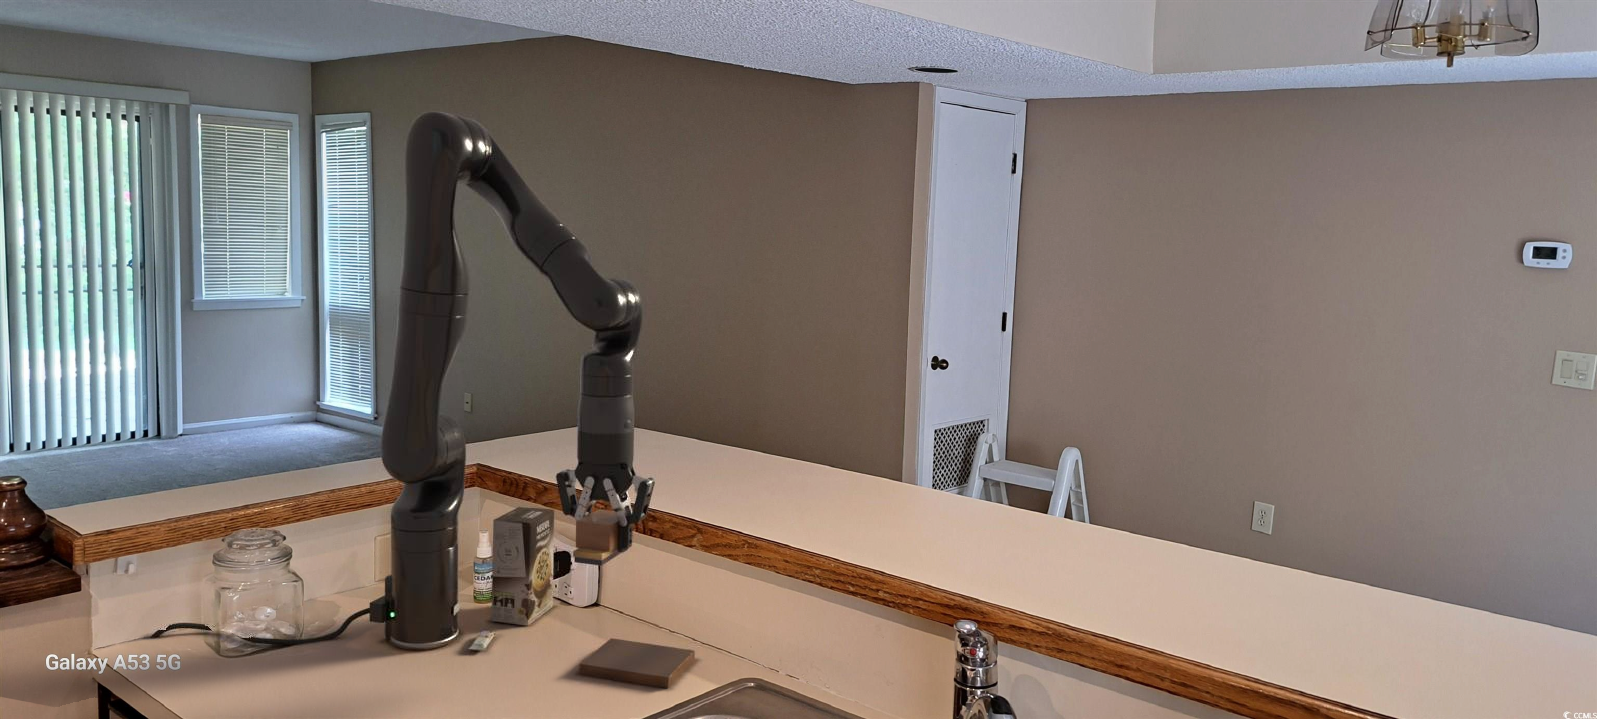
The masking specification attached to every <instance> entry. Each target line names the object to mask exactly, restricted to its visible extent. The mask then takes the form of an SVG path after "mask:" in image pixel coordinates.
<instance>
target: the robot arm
mask: <svg viewBox="0 0 1597 719" xmlns="http://www.w3.org/2000/svg"><path fill="white" fill-rule="evenodd" d="M458 184H461V185H463V186H465V187H467V188H468V189H470V190H471V191H473V192H474V193H475V194H476V195H478V196H479V197H480V198H482V199H483V200H484V201H485V202H486V203H487V204H488V205H489V206H490V208H492V209H493V210H494V211H495V213H496V214H497V216H498V218H499V220H500V221H501V223H502V225H503V227H504V229H505V231H506V234H507V235H508V238H509V239H510V241H511V242H512V244H513V246H514V247H515V249H517V251H518V253H519V254H521V256H522V257H523V258H524V259H525V260H526V261H527V262H528V263H529V264H530V265H531V266H532V267H533V268H534V269H535V270H536V271H537V273H539V274H540V275H541V276H542V277H543V278H544V279H545V280H546V281H547V282H549V284H550V285H551V288H552V289H553V291H554V293H555V295H556V296H557V298H558V300H559V301H560V303H561V304H562V306H563V307H564V309H565V310H566V312H567V314H568V315H569V316H570V317H571V318H572V319H573V320H574V321H575V322H576V323H578V324H579V325H580V327H582V328H584V329H586V330H588V331H590V332H594V336H593V341H592V345H591V347H590V348H589V349H587V350H586V351H584V353H583V354H582V356H581V360H580V368H579V370H580V371H579V372H580V373H579V400H578V404H577V405H578V407H577V418H576V424H577V437H576V438H577V445H576V447H577V448H576V449H577V450H576V458H577V465H576V467H575V469H570V468H567V469H564V470H562V471H560V472H557V473H556V475H555V480H556V485H557V489H558V494H559V499H560V505H561V509H562V510H561V511H562V513H563V515H565V516H570V517H572V518H574V520H575V522H576V521H578V520H580V519H582V518H584V517H586V516H588V515H589V514H591V513H593V512H592V511H593V509H594V507H595V504H596V503H597V502H598V501H603V502H606V503H610V505H611V510H612V511H615V512H616V516H617V519H618V522H619V524H620V525H619V526H618V547H617V551H618V552H621V554H624V553H625V552H627V551H628V550H629V549H630V548H631V547H632V546H633V541H632V537H633V538H634V533H633V530H634V529H633V528H634V524H638V523H640V522H641V521H643V520H644V519H646V518H647V516H648V512H649V508H650V504H651V499H652V496H653V491H654V487H655V484H656V480H655V479H654V478H653V477H648V478H645V477H642V476H639V475H637V474H636V472H635V469H634V466H633V465H634V456H635V455H634V451H635V446H634V445H635V404H634V360H635V356H636V353H637V349H638V344H639V340H640V336H641V332H642V326H643V321H644V320H643V319H644V303H643V298H642V295H641V292H640V290H639V288H638V287H637V285H635V283H633V282H632V281H631V280H629V279H626V278H623V277H606V278H605V277H604V276H602V275H601V274H600V273H599V271H597V270H596V269H595V267H594V266H593V265H592V261H593V255H592V253H591V251H590V249H589V247H588V246H587V245H586V244H585V243H584V242H583V241H582V240H581V239H580V237H578V235H576V234H575V233H574V232H573V231H572V230H571V229H570V228H569V227H568V226H567V225H566V224H565V223H564V222H563V221H562V220H561V219H560V217H558V215H556V214H555V213H554V212H553V211H552V210H551V209H550V208H549V207H548V206H547V205H546V204H545V202H543V201H542V199H540V197H539V196H538V195H537V194H536V193H535V192H534V190H533V189H532V188H531V187H530V185H528V183H527V182H526V180H525V179H524V178H523V177H522V176H521V173H519V172H518V170H517V169H516V167H515V166H514V165H513V164H512V162H511V161H510V160H509V158H508V156H507V155H506V154H505V153H504V151H503V149H502V148H501V147H500V145H499V144H498V142H497V141H496V140H495V138H494V137H493V136H492V134H490V132H489V131H488V129H487V128H486V127H485V126H484V125H482V123H480V122H479V121H476V120H475V119H472V118H470V117H466V116H463V115H457V114H452V113H448V112H443V111H439V110H428V111H426V112H423V113H421V114H419V115H418V116H416V118H415V119H414V120H413V121H412V123H411V125H410V126H409V128H408V131H407V134H406V138H405V144H404V192H405V194H404V195H405V196H404V198H405V200H404V201H405V204H404V205H405V214H404V215H405V216H404V230H403V231H404V232H403V245H402V246H403V249H402V264H401V265H402V266H401V272H400V280H399V290H398V301H397V316H396V318H397V319H396V323H397V324H396V333H395V334H396V335H395V343H394V352H393V363H392V364H393V366H392V375H391V384H390V390H389V395H388V400H387V404H386V410H385V414H384V419H383V424H382V429H381V434H380V435H381V436H380V445H379V452H380V458H381V462H382V465H383V468H384V469H385V471H386V472H387V474H388V475H389V476H390V477H391V478H392V479H394V480H395V481H397V482H398V483H402V484H403V487H402V490H401V492H400V494H399V495H398V497H397V498H396V500H395V501H394V503H393V504H392V506H391V508H390V574H387V576H385V578H384V595H382V596H381V597H378V598H376V599H374V600H372V601H370V602H369V607H367V608H364V609H361V610H359V611H357V612H355V613H353V614H351V615H350V616H348V617H347V618H346V619H345V621H344V622H343V623H342V624H341V626H340V627H339V628H338V629H336V630H335V631H333V632H330V633H328V634H327V633H326V634H325V635H321V636H317V637H312V638H302V639H300V638H299V639H290V638H289V639H288V638H287V639H286V638H271V637H270V638H269V637H256V636H253V637H251V638H250V637H249V638H240V640H243V641H245V642H248V643H252V644H261V645H275V646H276V645H278V646H297V645H305V644H311V643H317V642H323V641H324V642H325V641H328V640H332V639H334V638H337V637H338V636H340V635H342V634H343V633H344V632H345V631H346V630H347V629H348V627H349V625H350V624H352V623H353V621H355V620H357V619H358V618H361V617H363V616H366V615H369V622H371V623H377V624H383V623H384V641H385V642H389V643H390V644H392V645H393V646H395V647H397V648H399V649H405V650H420V651H422V650H431V649H437V648H440V647H445V646H447V645H449V644H451V643H453V642H455V641H456V640H457V639H458V638H459V636H460V634H459V633H460V632H459V630H460V629H459V611H460V610H461V606H462V605H461V600H459V515H460V509H461V506H462V504H463V501H464V496H465V484H466V465H467V464H466V463H467V447H466V446H467V445H466V438H465V434H464V430H463V428H462V426H461V425H460V423H459V422H458V420H457V419H456V418H455V417H454V416H452V415H450V414H449V413H447V412H445V411H441V398H442V393H443V392H442V391H443V387H444V383H445V379H446V377H447V374H448V372H449V370H450V367H451V365H452V363H453V360H454V358H455V356H456V354H457V351H458V349H459V347H460V345H461V342H462V340H463V337H464V333H465V330H466V325H467V320H468V312H469V301H470V289H471V280H470V273H469V268H468V265H467V261H466V258H465V255H464V252H463V249H462V246H461V243H460V240H459V237H458V232H457V230H456V229H457V228H456V222H455V204H456V196H457V195H456V193H457V185H458ZM577 482H578V483H579V485H580V486H581V488H582V491H581V494H580V497H579V499H578V495H577V491H576V490H577V489H576V484H577ZM632 485H633V487H634V492H635V493H636V496H635V499H634V504H633V508H632V500H631V498H630V493H629V491H628V490H629V489H630V487H632ZM632 535H633V536H632ZM631 545H632V546H631ZM630 546H631V547H630ZM629 547H630V548H629ZM171 624H172V625H171ZM171 624H168V625H169V626H168V627H167V628H166V630H159V629H157V630H156V631H155V632H153V633H152V634H151V636H150V637H149V638H150V639H156V638H158V637H160V636H161V635H163V634H165V633H167V632H169V631H173V630H179V629H189V630H191V629H192V630H201V631H209V632H210V631H211V632H213V631H212V630H211V629H210V628H209V627H208V626H205V624H204V623H196V622H176V623H171Z"/></svg>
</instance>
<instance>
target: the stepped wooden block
mask: <svg viewBox="0 0 1597 719" xmlns="http://www.w3.org/2000/svg"><path fill="white" fill-rule="evenodd" d="M619 525H620V524H619V522H618V519H617V516H616V512H615V511H614V510H612V509H611V510H609V509H602V508H601V509H600V508H599V509H597V510H595V511H593V512H591V514H589V515H588V516H586V517H584V518H582V519H580V520H578V521H576V520H575V548H576V549H575V550H573V551H572V557H573V558H574V563H577V564H586V565H592V566H599V567H600V566H601V567H602V566H604V565H605V564H607V563H609V562H610V561H611V560H612V559H613V560H614V558H616V557H618V556H619V555H621V554H622V553H621V552H618V551H617V547H618V526H619ZM632 536H633V537H632V542H633V541H634V534H633V535H632ZM632 547H633V544H632V545H631V546H630V547H629V548H628V549H630V548H632Z"/></svg>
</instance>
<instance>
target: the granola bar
mask: <svg viewBox="0 0 1597 719" xmlns="http://www.w3.org/2000/svg"><path fill="white" fill-rule="evenodd" d="M495 635H497V632H494V631H493V630H482V631H481V632H480V633H479V635H478V636H477V637H476V638H475V640H474V641H473V642H472V644H471V645H470V646H469V647H468V650H472V651H485V650H486V648H487V646H488V645H489V643H491V641H492V639H493V638H494V636H495Z"/></svg>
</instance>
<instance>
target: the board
mask: <svg viewBox="0 0 1597 719" xmlns="http://www.w3.org/2000/svg"><path fill="white" fill-rule="evenodd" d="M695 655H696V650H694V649H686V648H680V647H675V646H674V647H673V646H667V645H659V644H654V643H646V642H639V641H633V640H625V639H618V638H612V637H611V638H609V639H608V640H607V641H606V642H605V643H603V644H602V645H601V646H600V647H598V648H597V649H596V650H595V651H593V652H592V653H591V654H589V656H588V657H586V658H585V659H584V660H582V661H581V662H580V663H579V675H583V676H588V677H589V676H590V677H595V678H602V679H608V680H615V681H619V682H620V681H621V682H627V683H631V684H632V683H633V684H639V685H645V686H652V687H657V688H658V687H659V688H666V689H669V688H670V687H671V686H672V685H673V684H674V683H675V682H676V681H677V680H678V678H680V676H681V675H682V674H683V673H685V671H686V670H687V669H688V668H689V667H690V666H691V665H692V664H693V663H694V662H695V660H696V658H695Z"/></svg>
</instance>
